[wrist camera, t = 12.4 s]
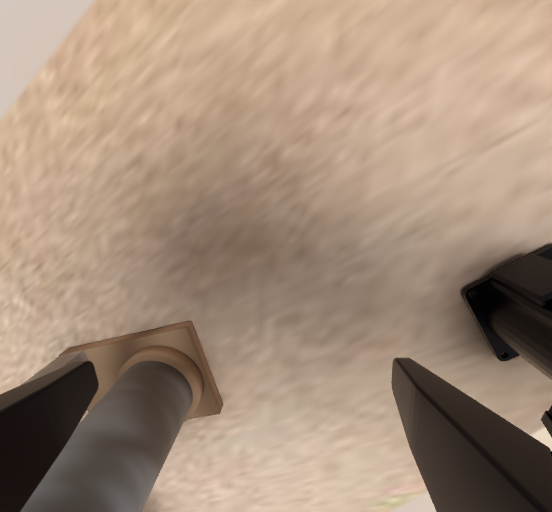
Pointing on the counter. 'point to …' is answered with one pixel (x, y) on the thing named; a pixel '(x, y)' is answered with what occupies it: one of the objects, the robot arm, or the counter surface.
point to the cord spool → (123, 437)
